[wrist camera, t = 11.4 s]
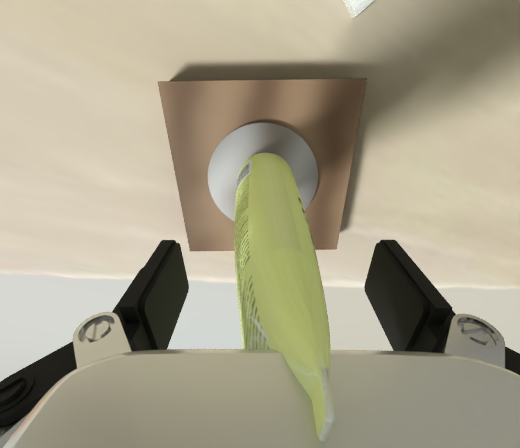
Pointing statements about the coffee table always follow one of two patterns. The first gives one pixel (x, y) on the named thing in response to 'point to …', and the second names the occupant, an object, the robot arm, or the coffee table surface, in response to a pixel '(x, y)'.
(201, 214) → the walnut base
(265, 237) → the tube
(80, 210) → the coffee table surface
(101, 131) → the coffee table surface
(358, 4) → the external hard drive
